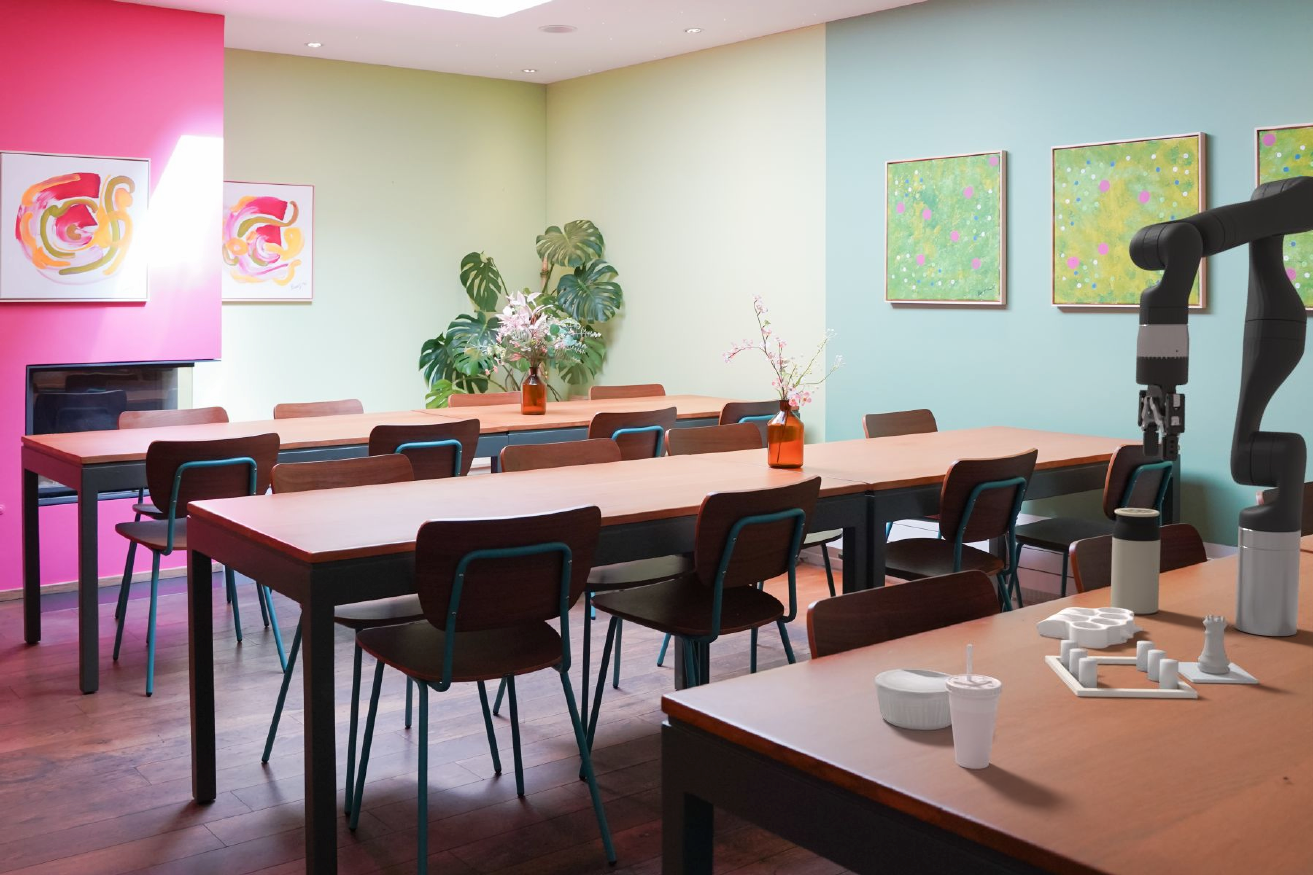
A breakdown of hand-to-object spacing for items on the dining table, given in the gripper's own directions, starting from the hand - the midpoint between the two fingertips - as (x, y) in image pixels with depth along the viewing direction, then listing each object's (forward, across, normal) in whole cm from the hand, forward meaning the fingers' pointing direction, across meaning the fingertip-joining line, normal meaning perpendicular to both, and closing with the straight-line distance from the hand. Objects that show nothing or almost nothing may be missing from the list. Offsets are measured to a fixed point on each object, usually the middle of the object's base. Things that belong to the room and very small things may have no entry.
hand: (1159, 458), depth 187 cm
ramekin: (+30, -38, +42) cm, 64 cm away
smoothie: (+30, -54, +38) cm, 73 cm away
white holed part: (+31, +8, +7) cm, 33 cm away
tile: (+30, -15, -4) cm, 34 cm away
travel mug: (+30, +26, -5) cm, 40 cm away
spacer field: (+30, -18, +11) cm, 37 cm away
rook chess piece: (+30, -15, -4) cm, 34 cm away
